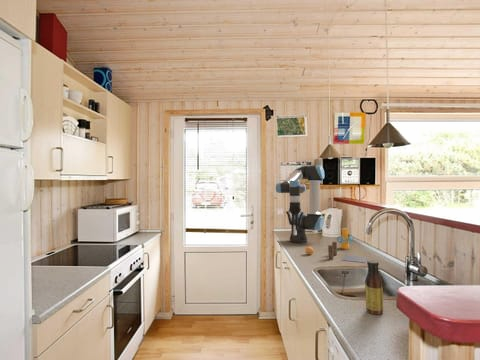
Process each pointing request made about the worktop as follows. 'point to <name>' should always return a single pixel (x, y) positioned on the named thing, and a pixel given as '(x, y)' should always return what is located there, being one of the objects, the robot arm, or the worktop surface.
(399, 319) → the worktop surface
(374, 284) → the sauce bottle
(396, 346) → the worktop surface
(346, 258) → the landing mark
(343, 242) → the orange blue column
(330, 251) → the post
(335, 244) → the post
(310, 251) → the ball
